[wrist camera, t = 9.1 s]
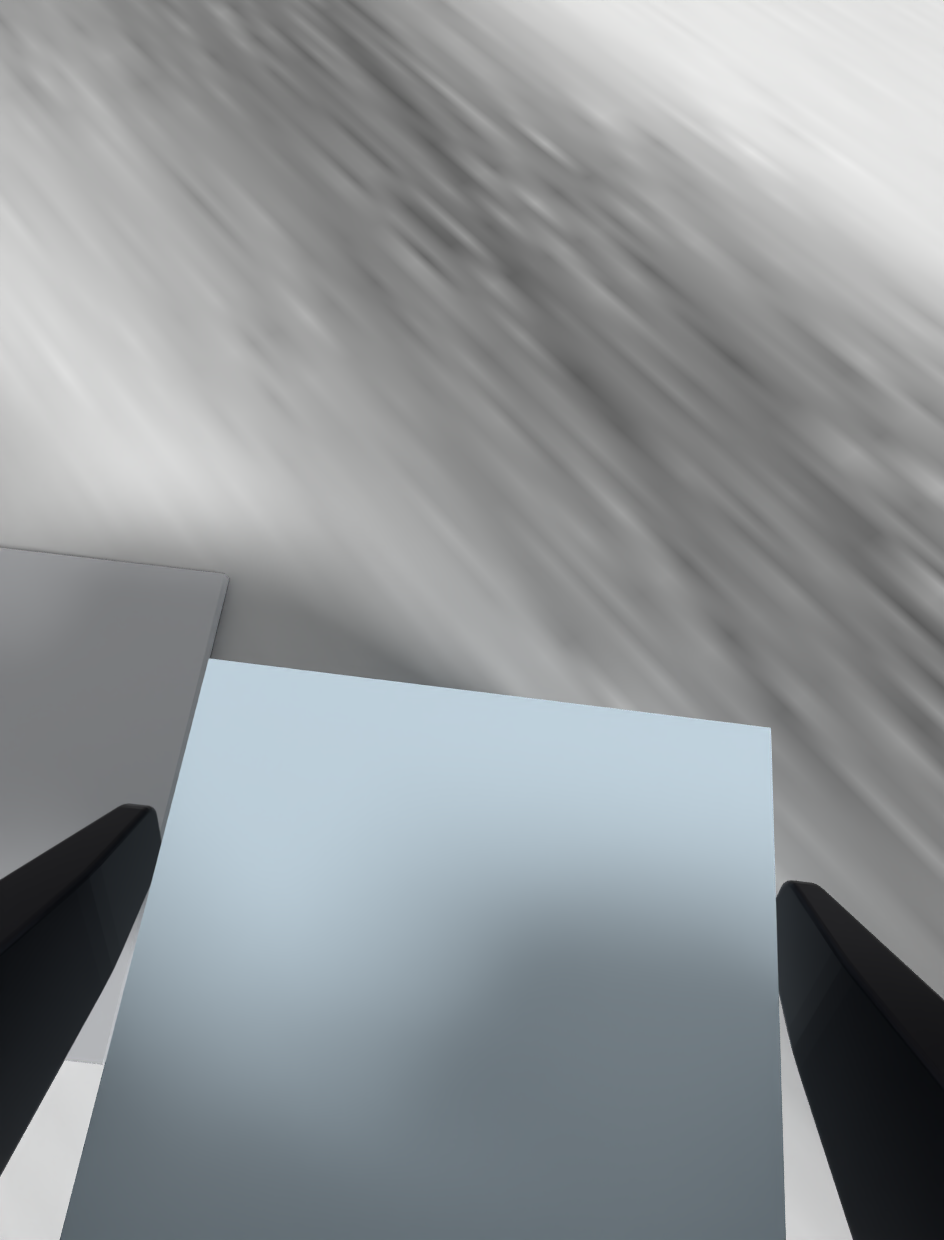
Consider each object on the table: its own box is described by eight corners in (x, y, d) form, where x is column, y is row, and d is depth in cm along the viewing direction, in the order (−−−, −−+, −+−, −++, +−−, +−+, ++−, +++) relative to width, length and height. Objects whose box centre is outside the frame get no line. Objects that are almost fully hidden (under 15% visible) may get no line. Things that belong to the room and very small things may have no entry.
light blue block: (580, 1082, 15) (793, 1512, 6) (284, 1045, 15) (14, 1412, 6) (597, 777, 17) (771, 727, 8) (339, 745, 17) (208, 657, 8)
